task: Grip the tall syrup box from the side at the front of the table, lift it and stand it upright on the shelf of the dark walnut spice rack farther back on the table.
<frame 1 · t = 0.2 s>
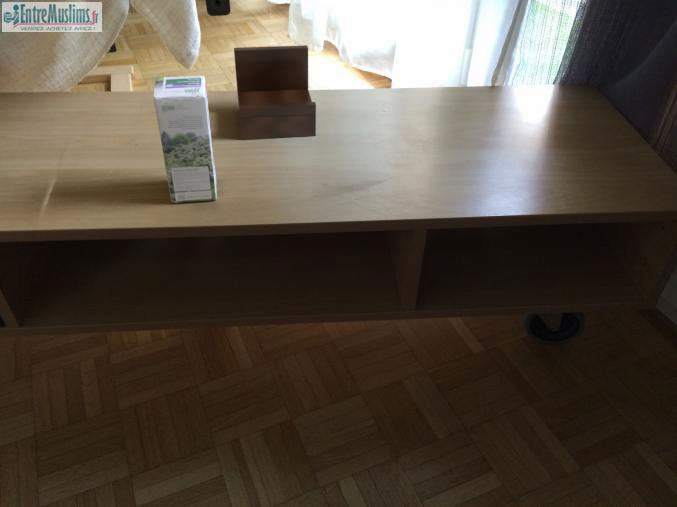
hand: (219, 0, 61), 25 cm above the tv stand, tool pointing down, fingers open, 8 cm apart
spice rack: (269, 87, 104), on the tv stand
syrup box: (194, 192, 79), on the tv stand
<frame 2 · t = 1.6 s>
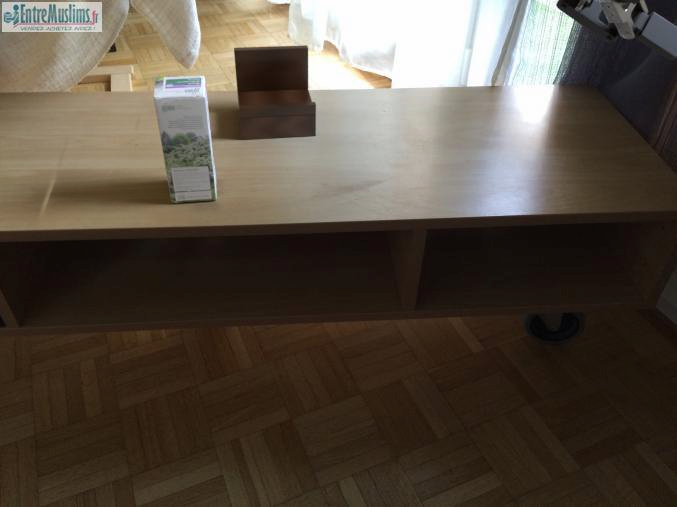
nothing on the tv stand moved.
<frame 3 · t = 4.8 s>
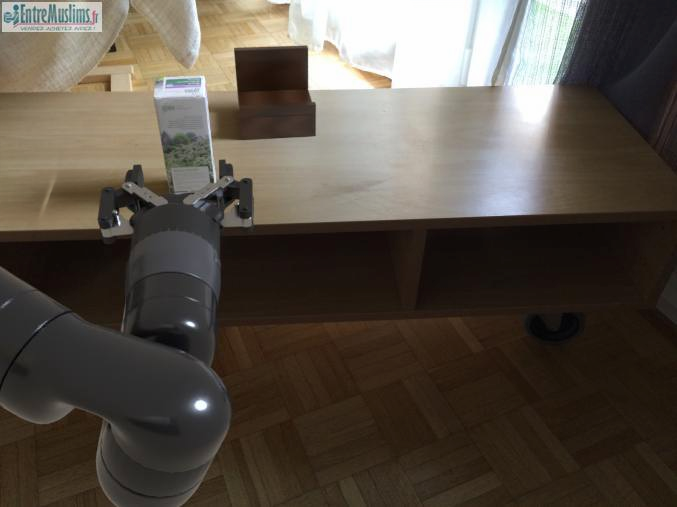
hand: (181, 169, 64), 10 cm above the tv stand, tool horizontal, fingers open, 8 cm apart
nothing on the tv stand moved.
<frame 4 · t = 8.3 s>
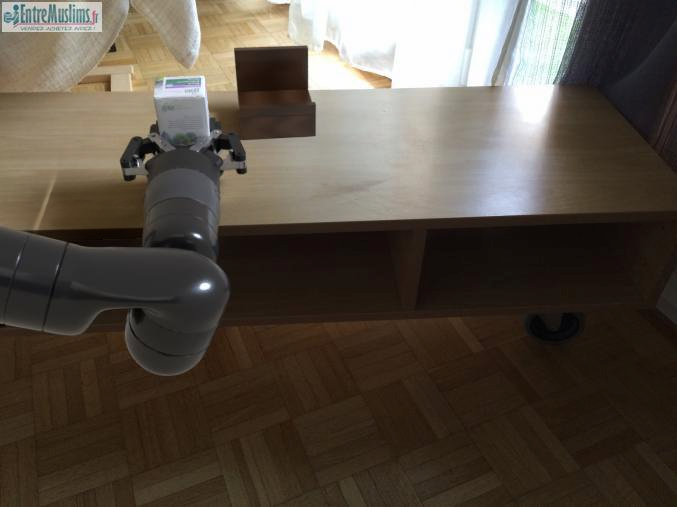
hand: (187, 125, 75), 8 cm above the tv stand, tool horizontal, fingers closed on syrup box, 5 cm apart
syrup box: (194, 192, 79), on the tv stand, touching gripper
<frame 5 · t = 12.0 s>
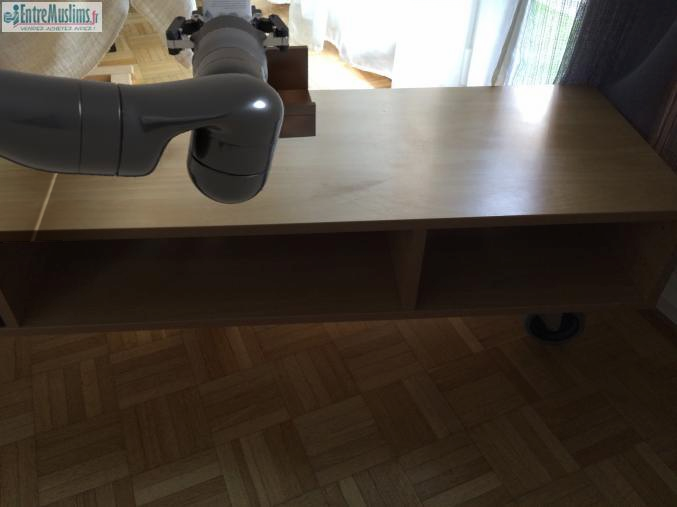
hand: (227, 14, 76), 19 cm above the tv stand, tool horizontal, fingers closed on syrup box, 5 cm apart
syrup box: (233, 84, 79), point 10 cm above the tv stand, touching gripper
when the fingers open (12 cm above the tv stand, at t = 15.9 s): syrup box stays where it is, resting on spice rack.
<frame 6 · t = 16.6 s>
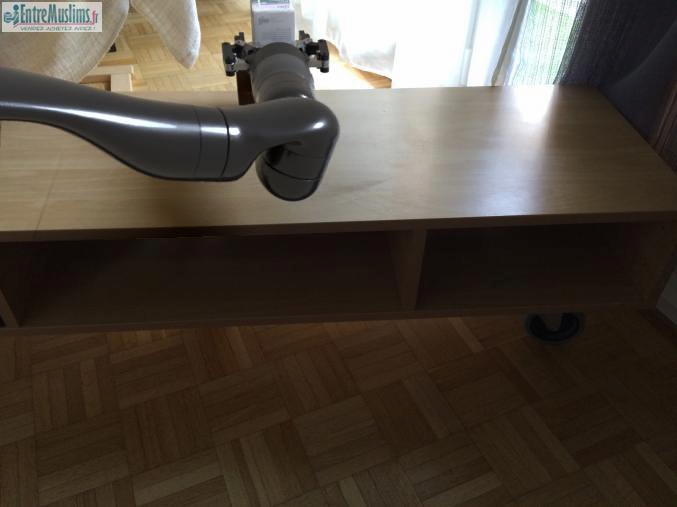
hand: (271, 37, 88), 12 cm above the tv stand, tool horizontal, fingers open, 8 cm apart
syrup box: (275, 103, 92), point 3 cm above the tv stand, touching spice rack
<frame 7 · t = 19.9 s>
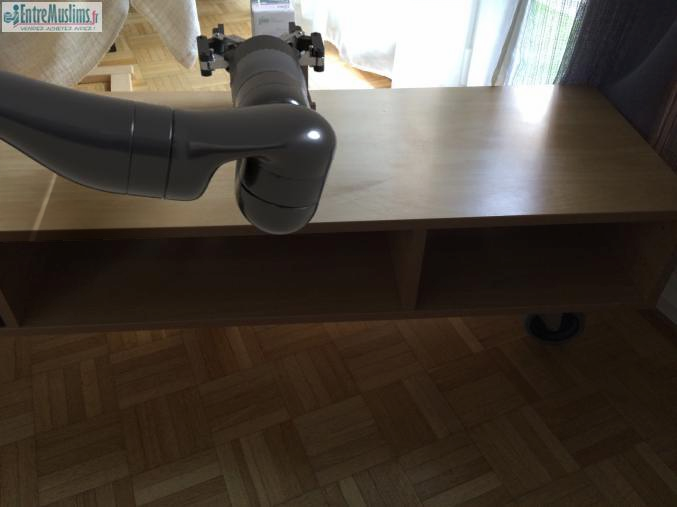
hand: (256, 30, 75), 18 cm above the tv stand, tool horizontal, fingers open, 8 cm apart
nothing on the tv stand moved.
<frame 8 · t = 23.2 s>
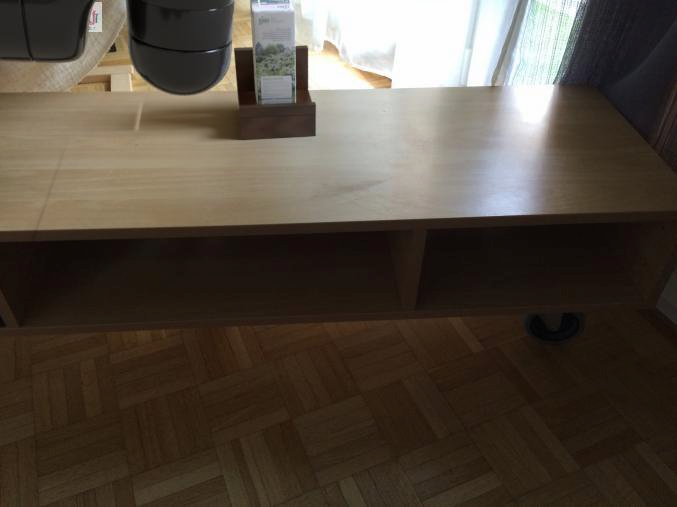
nothing on the tv stand moved.
at the end: syrup box inside the target area on the spice rack (0.3 cm from its centre), point 3.3 cm above the spice rack's base; syrup box tilted 0°; the gripper is holding nothing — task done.
